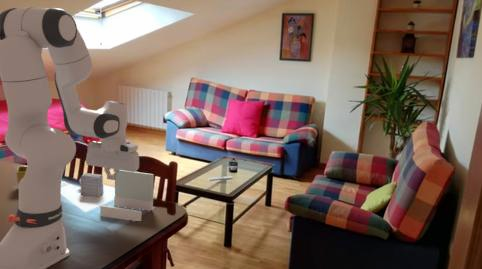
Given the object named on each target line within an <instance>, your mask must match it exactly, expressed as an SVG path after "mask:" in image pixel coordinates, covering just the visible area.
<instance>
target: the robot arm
mask: <svg viewBox="0 0 482 269" xmlns="http://www.w3.org/2000/svg"><path fill="white" fill-rule="evenodd" d="M43 49H47V50H48V53H49V55H50V56H49V57H50V58H51V60H52V63H53V65H54V68H55V72H54V73H55V74H54V78H53V79H54V84H55V89H56V91H57V96H58V99H59V102H60V105H61V109H62V114H63V124H64V127H65V129H66V131H67V132H68V133H69V134H71V135H75V136H85V137H89V138H94V139H98V140H99V139H101V142H100V141H94V140H91V141H90V142H88V144H87V149H86V150H87V152H86V158H85V163H86V164H87V166H93V167H99V168H104V170H103V171H104V172H105V174H106V180H110V181H115V180H116V175H117V174H118V172H119V170H124V171H131V172H137V171H138V170H139V168H140V155H139V152H138V149H139V145H138V144H136V143H134V142H133V141H131V140H129V139H127V133H126V131H127V127H128V109H127V105H126V104H124V103H123V102H120V101H113V100H106V101H105V103H104V104H103V106H102V107H100V108H98V109H95V110H94V109H88V108H86V107H84V106H83V105H82V104H81V103H80V99H79V95H78V91H77V87H76V85H79V84H81V83H83V82H84V81H86V80H87V79H88V78H89V77H90V75H91V74H92V71H93V68H94V67H93V61H92V58H91V55H90V53H89V52H90V51H89V49H88V48H87V45H86V42H85V40H84V39H83V36H82V35H81V32H80V30H78V26H77V23H76V21H75V18H74V17H73V16H72V15H71V14H70V12H68V11H67V10H65V9H63V8H58V7H57V8H56V7H50V8H49V7H48V8H47V7H37V6H27V7H26V6H25V7H21V8H20V7H19V8H14V7H12V8H9V9H6V10H4V11H2V12H1V13H0V80H1V84H2V89H3V92H4V96H5V100H6V101H5V102H6V105H7V112H8V113H7V114H8V115H7V116H8V117H7V119H8V122H7V123H8V125H7V126H8V128H7V130H6V132H5V133H4V141H5V145H6V146H7V148H8V149H9V150H10V151H11V152H12V153H14V154H15V155H16V156H18V157H20V158H22V159H25V160H26V163H27V165H26V166H27V169H26V173H25V176H24V178H22V179H21V181H20V182H19V184H18V208H17V209H16V213H15V214H9V215H8V216H7V222H11V223H14V224H13V225H12V227H10V229H9V230H8V231H7V233H6V234H5V236H4V237H3V238H2V240H0V269H47V268H49V267H51V266H52V265H54V264H56V263H58V262H59V261H61V260H63V259H66V258H67V257H68V256H70V255H71V252H70V250H69V248H68V247H67V239H66V238H67V237H66V228H65V226H64V224H63V221H62V218H63V205H62V204H61V202H62V201H61V199H62V198H61V196H62V195H61V194H62V193H61V192H62V179H63V175H64V172H65V169H66V167H67V166H68V165H69V164H70V163H71V162H72V161H73V160H74V158H75V156H76V152H77V145H76V142H75V140H74V138H73V137H71V136H70V135H69V134H68V133H66V132H64V131H63V130H61V129H60V128H59V129H58V128H55V127H52V126H50V125H49V122H48V112H49V108H50V107H51V105H52V103H53V99H52V94H51V93H52V92H51V89H50V85H49V84H50V83H49V79H48V74H47V70H46V67H45V64H44V60H43V57H42V53H43V52H42V51H43ZM112 169H113V172H114V173H113V174H112V173H111V170H112Z"/></svg>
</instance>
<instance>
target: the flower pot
mask: <svg viewBox="0 0 482 269" xmlns="http://www.w3.org/2000/svg"><path fill="white" fill-rule="evenodd" d="M26 169H27V165H26V166H18V167H17V170H16V177H17V178H16V179H17V184H18V185H19V182H20V181H21V179H22V178H24V176H25V173H26Z"/></svg>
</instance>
